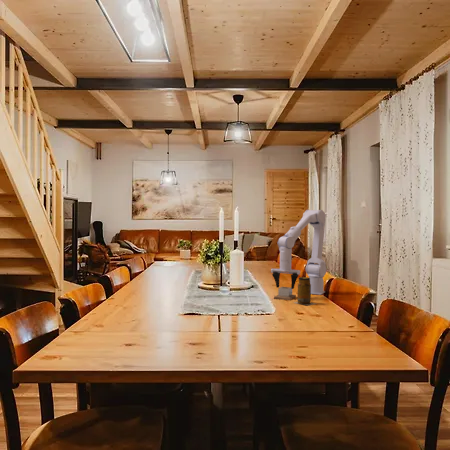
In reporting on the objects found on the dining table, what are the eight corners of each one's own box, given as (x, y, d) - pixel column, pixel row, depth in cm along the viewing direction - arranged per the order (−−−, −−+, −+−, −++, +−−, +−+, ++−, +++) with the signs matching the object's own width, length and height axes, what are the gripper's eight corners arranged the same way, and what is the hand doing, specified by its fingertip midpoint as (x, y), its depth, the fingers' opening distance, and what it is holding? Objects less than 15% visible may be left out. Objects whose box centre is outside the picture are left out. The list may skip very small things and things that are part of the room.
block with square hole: (281, 294, 228) (281, 286, 228) (292, 295, 225) (292, 287, 225) (278, 296, 223) (278, 288, 223) (288, 297, 221) (288, 289, 220)
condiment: (303, 301, 216) (303, 276, 216) (317, 304, 210) (317, 278, 209) (293, 303, 211) (293, 277, 211) (307, 306, 205) (307, 279, 205)
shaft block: (280, 295, 230) (280, 286, 230) (295, 297, 227) (295, 288, 227) (274, 298, 221) (274, 289, 221) (289, 300, 218) (289, 291, 218)
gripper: (269, 260, 223) (268, 287, 224) (297, 262, 217) (297, 290, 217) (273, 259, 230) (273, 286, 230) (301, 260, 223) (301, 288, 224)
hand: (285, 288), depth 224 cm, fingers open, 7 cm apart
